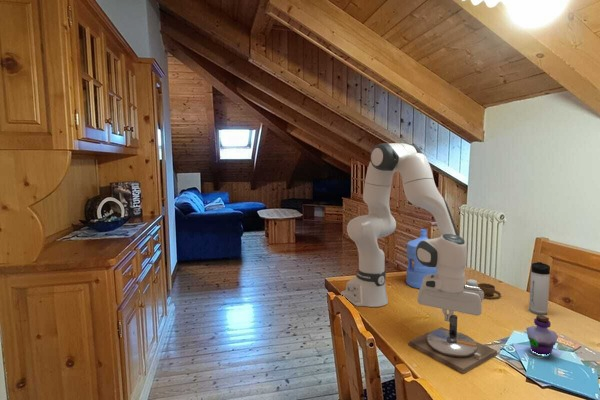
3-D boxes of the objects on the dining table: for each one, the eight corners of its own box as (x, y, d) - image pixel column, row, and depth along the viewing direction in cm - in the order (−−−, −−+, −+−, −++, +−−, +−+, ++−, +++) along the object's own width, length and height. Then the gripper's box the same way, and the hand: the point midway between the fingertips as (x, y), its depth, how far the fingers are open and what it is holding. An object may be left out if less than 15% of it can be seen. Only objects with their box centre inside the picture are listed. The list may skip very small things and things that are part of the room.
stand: (408, 345, 120) (408, 337, 120) (441, 330, 130) (441, 323, 130) (463, 373, 104) (463, 365, 103) (496, 355, 113) (497, 347, 113)
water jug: (441, 282, 182) (443, 228, 179) (435, 292, 168) (436, 233, 165) (410, 277, 190) (411, 225, 187) (402, 286, 177) (403, 230, 174)
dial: (423, 350, 114) (424, 328, 113) (430, 330, 127) (430, 310, 126) (476, 362, 107) (477, 338, 106) (477, 339, 120) (478, 318, 119)
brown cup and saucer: (508, 304, 155) (509, 290, 154) (461, 302, 157) (461, 289, 156) (491, 289, 172) (492, 277, 172) (448, 288, 174) (449, 276, 174)
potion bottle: (521, 352, 115) (523, 316, 113) (528, 342, 121) (530, 308, 119) (553, 363, 108) (556, 325, 107) (559, 352, 114) (561, 316, 113)
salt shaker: (480, 314, 143) (481, 283, 142) (465, 313, 145) (466, 282, 143) (476, 308, 149) (477, 278, 148) (461, 307, 150) (462, 277, 149)
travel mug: (545, 310, 147) (548, 262, 144) (548, 316, 141) (552, 267, 138) (527, 307, 149) (530, 261, 147) (530, 313, 143) (533, 265, 141)
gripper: (484, 285, 119) (481, 323, 121) (420, 274, 128) (418, 310, 130) (484, 291, 113) (481, 332, 115) (417, 280, 122) (415, 318, 125)
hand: (447, 320), depth 123 cm, fingers closed, pressing on dial
